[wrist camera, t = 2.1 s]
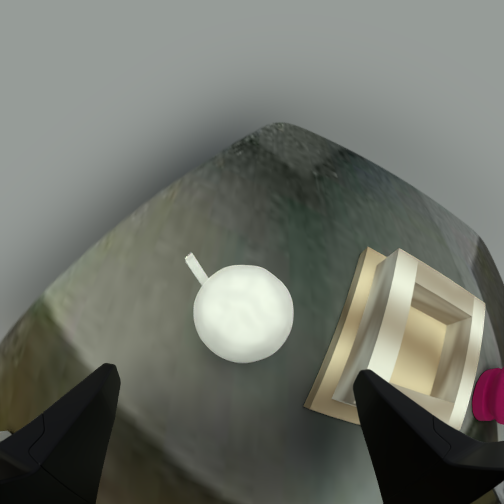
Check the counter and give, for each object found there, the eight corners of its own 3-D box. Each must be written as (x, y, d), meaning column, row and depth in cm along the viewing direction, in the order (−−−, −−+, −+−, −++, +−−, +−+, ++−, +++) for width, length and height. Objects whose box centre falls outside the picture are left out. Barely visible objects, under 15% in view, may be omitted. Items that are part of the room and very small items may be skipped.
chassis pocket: (426, 439, 16) (462, 444, 12) (303, 406, 18) (328, 416, 13) (459, 310, 22) (492, 296, 18) (360, 253, 23) (388, 227, 19)
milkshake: (221, 285, 21) (223, 217, 12) (277, 327, 20) (326, 292, 11) (182, 330, 19) (149, 296, 10) (240, 375, 18) (260, 385, 9)
